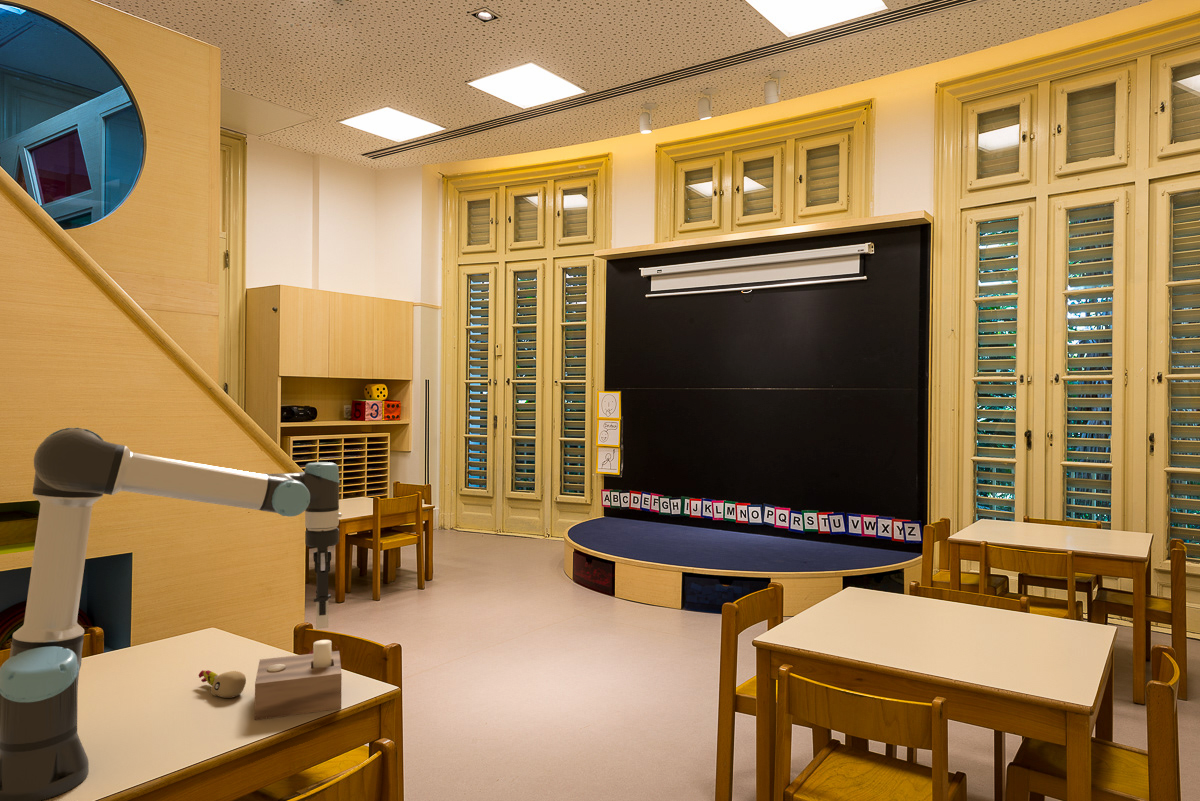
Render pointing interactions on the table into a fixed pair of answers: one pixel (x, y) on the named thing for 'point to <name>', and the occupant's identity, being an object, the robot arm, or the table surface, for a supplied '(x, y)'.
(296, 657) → the socket block
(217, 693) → the toy
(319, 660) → the dowel
